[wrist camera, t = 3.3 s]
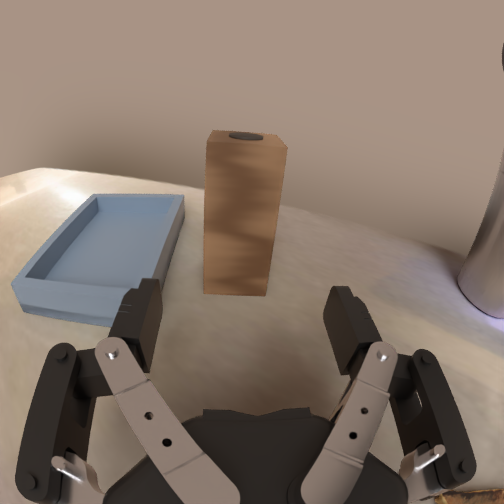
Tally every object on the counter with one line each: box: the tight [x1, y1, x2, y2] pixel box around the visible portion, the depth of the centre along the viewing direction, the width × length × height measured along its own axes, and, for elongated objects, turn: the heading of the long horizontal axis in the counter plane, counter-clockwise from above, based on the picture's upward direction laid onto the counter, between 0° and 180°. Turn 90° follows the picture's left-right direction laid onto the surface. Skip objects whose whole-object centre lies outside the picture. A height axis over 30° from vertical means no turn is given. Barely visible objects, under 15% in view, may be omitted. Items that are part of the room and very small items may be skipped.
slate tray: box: [11, 194, 185, 327], centre depth 25 cm, size 12×18×3 cm, turn 3°
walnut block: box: [204, 130, 288, 296], centre depth 22 cm, size 5×5×12 cm
